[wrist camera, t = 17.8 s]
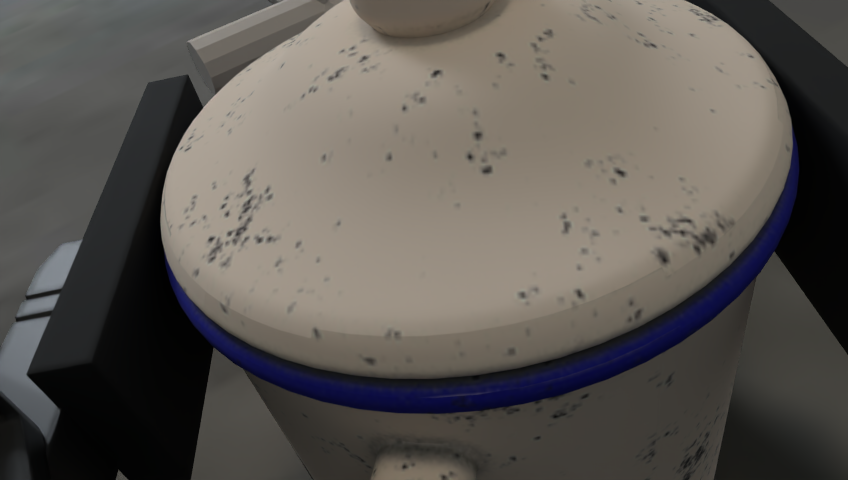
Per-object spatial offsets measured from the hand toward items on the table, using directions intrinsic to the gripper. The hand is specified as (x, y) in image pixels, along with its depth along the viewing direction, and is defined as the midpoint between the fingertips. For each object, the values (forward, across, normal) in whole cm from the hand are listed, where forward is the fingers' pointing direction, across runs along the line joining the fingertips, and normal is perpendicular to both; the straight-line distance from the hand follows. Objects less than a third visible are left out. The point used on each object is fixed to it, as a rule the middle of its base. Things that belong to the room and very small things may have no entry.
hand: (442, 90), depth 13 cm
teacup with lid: (-4, 0, -8) cm, 9 cm away
